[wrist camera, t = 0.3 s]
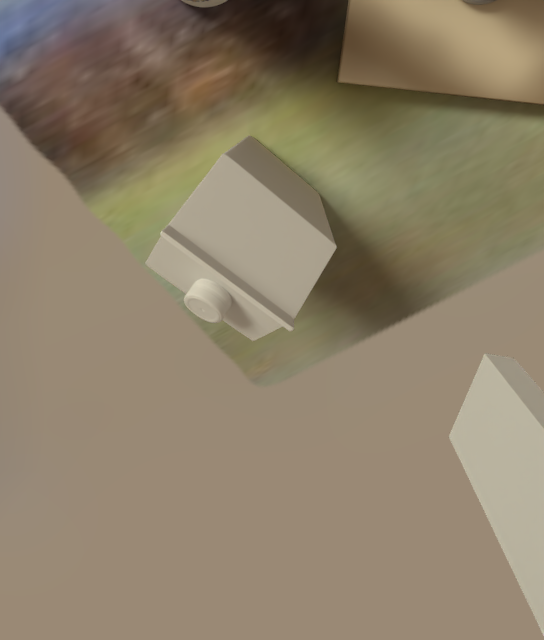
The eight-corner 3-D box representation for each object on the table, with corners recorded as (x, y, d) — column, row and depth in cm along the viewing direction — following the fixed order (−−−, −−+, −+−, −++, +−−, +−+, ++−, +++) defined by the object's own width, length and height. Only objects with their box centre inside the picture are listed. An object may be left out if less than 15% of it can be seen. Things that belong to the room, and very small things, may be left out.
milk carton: (249, 133, 35) (210, 162, 17) (320, 193, 36) (346, 273, 19) (197, 206, 37) (117, 294, 20) (265, 259, 39) (245, 382, 22)
